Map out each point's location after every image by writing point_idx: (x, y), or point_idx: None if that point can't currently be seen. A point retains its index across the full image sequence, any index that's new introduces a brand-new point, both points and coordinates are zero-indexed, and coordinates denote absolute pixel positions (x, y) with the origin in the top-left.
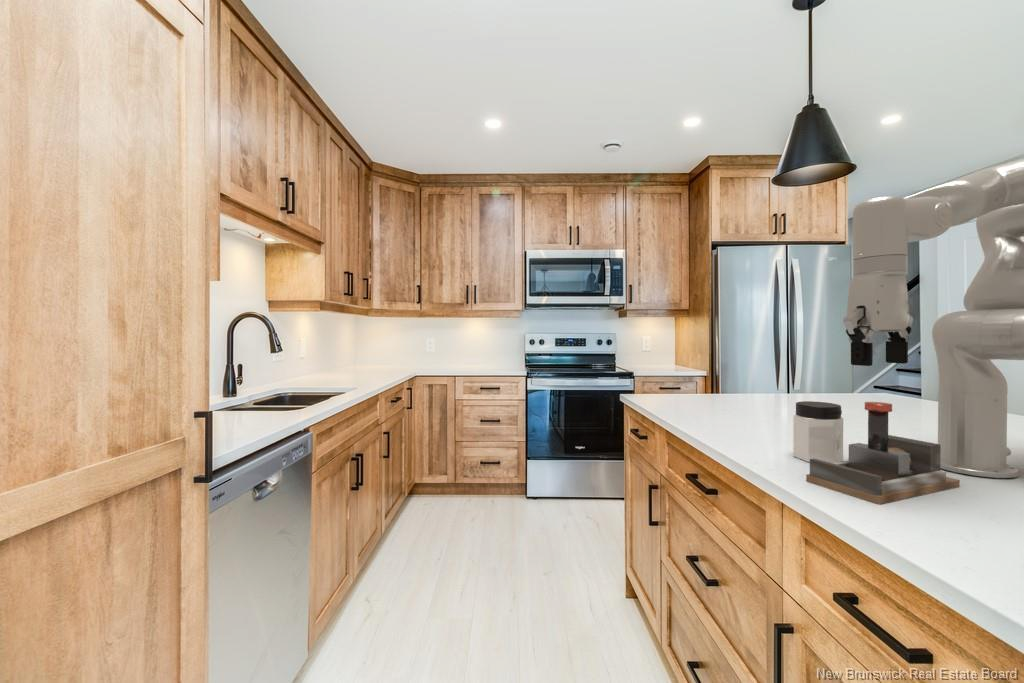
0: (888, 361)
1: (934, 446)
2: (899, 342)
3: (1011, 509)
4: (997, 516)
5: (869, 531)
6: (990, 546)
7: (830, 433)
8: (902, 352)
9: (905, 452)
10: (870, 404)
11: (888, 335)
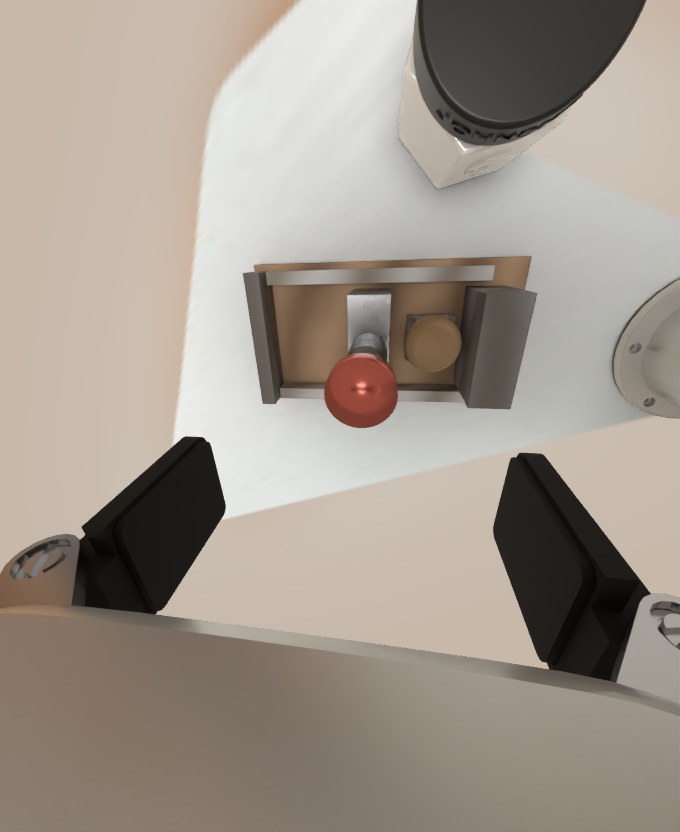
0: (510, 468)
1: (482, 407)
2: (552, 643)
3: (430, 466)
4: (380, 468)
5: (184, 432)
6: (271, 493)
7: (445, 159)
8: (515, 578)
9: (439, 367)
10: (324, 391)
11: (615, 672)
